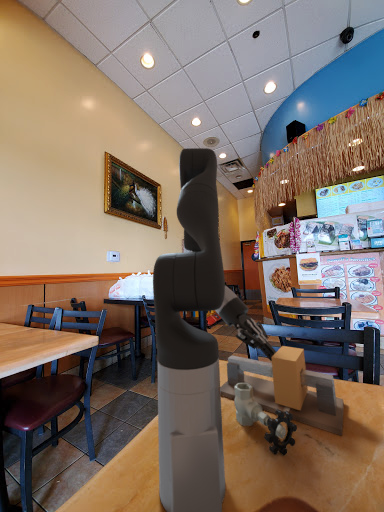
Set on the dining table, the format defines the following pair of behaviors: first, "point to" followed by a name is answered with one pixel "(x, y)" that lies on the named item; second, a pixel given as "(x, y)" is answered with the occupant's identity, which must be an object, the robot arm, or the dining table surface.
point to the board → (307, 414)
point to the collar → (289, 377)
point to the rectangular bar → (308, 378)
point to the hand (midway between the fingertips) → (275, 358)
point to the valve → (263, 419)
